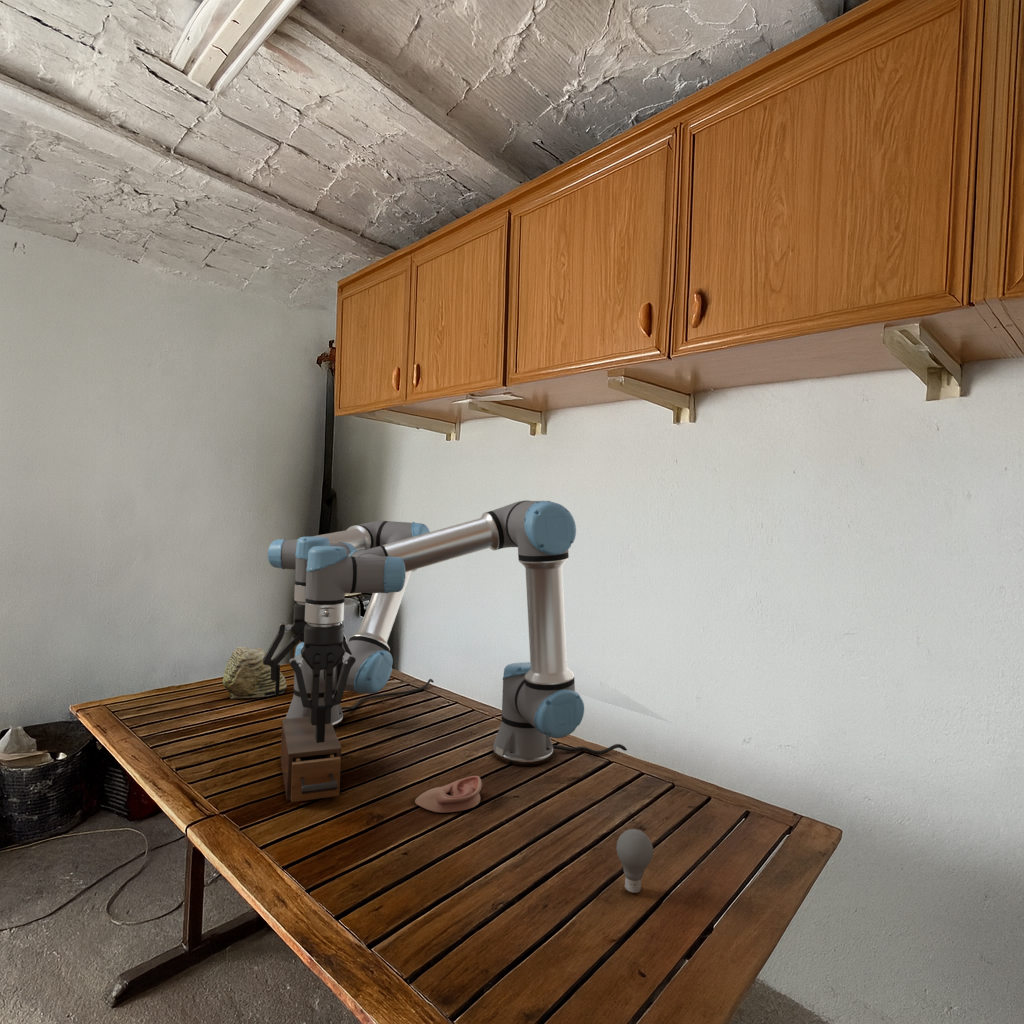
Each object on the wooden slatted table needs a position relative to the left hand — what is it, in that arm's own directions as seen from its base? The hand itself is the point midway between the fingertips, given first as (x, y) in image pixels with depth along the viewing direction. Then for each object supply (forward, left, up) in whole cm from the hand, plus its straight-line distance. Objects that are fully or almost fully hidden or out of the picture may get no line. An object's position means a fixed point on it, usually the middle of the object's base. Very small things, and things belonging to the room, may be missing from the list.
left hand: (307, 691), depth 150 cm
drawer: (+7, +13, -16) cm, 21 cm away
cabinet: (+3, +7, -17) cm, 19 cm away
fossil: (-18, -54, -17) cm, 60 cm away
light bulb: (-9, +82, -17) cm, 84 cm away
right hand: (+12, +22, -2) cm, 25 cm away
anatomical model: (-10, +38, -17) cm, 43 cm away
